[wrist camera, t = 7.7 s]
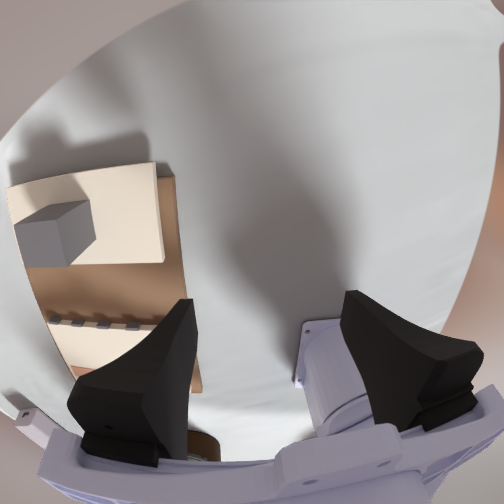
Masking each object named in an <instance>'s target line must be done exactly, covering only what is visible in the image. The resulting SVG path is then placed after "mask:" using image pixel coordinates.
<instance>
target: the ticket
mask: <svg viewBox="0 0 504 504" xmlns="http://www.w3.org/2000/svg"><path fill="white" fill-rule="evenodd" d="M159 323H160V322H159ZM47 325H48V327H49V329H50V331H51V334H52V336H53V338H54V340H55V342H56V344H57V346H58V348H59V350H60V352H61V354H62V356H63V358H64V360H65V362H66V363H67V365H68V367H69V369H70V371H71V372H72V374H73V376H74V378H75V379H76V381H77V379H78V377H79V376H81V375H84V374H86V373H89V372H91V371H93V370H96V369H98V368H100V367H102V366H104V365H106V364H108V363H110V362H112V361H113V360H115V359H117V358H118V357H120V356H121V355H123V354H124V353H126V352H127V351H129V350H130V349H132V348H133V347H134V346H136V345H137V344H138V343H139V342H140V341H142V340H143V339H144V338H145V337H146V336H147V335H148V334H149V333H150V332H151V331H152V330H153V329H154V328H155V327H156V326H157V325H141V323H140V322H127V324H115V323H111V321H106V320H99V322H85V321H84V319H77V318H74V319H73V321H72V320H61V317H54V316H52V317H51V318H50V319H49V321H48V322H47ZM191 389H192V387H191V385H190V391H189V393H191Z"/></svg>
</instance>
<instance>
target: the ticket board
mask: <svg viewBox="0 0 504 504" xmlns="http://www.w3.org/2000/svg"><path fill="white" fill-rule="evenodd" d="M157 190H158V201H159V211H160V220H161V229H162V237H163V245H164V252H165V259H164V261H163V263H123V264H71V265H69V267H55V268H25V269H26V272H27V275H28V278H29V281H30V284H31V287H32V290H33V292H34V295H35V298H36V300H37V303H38V306H39V308H40V310H41V313H42V315H43V318H44V320H45V322H46V325H47V322H48V321H49V319H50V318H51V317H52V316H54V317H61V320H72V321H73V319H74V318H77V319H84V321H85V322H99V320H106V321H111V323H115V324H127V322H140V323H141V325H158V324H159V322H161V321H162V319H163V318H164V317H165V316H166V315H167V314H168V312H169V311H170V310H171V309H172V308H173V306H174V305H175V304H176V303H177V301H178V300H179V299H187V293H186V285H185V278H184V270H183V262H182V253H181V244H180V235H179V224H178V213H177V201H176V188H175V176H164V177H157ZM47 327H48V325H47ZM48 329H49V327H48ZM49 331H50V329H49ZM50 333H51V331H50ZM51 335H52V334H51ZM52 338H53V336H52ZM53 340H54V338H53ZM54 342H55V340H54ZM55 344H56V342H55ZM56 346H57V344H56ZM57 348H58V346H57ZM58 350H59V348H58ZM59 352H60V350H59ZM60 354H61V352H60ZM61 356H62V354H61ZM62 358H63V356H62ZM63 359H64V358H63ZM64 361H65V360H64ZM65 363H66V362H65ZM66 365H67V363H66ZM67 367H68V365H67ZM68 369H69V367H68ZM69 370H70V369H69ZM70 372H71V371H70ZM71 374H72V372H71ZM72 376H73V374H72ZM73 377H74V376H73ZM74 379H75V378H74ZM75 381H76V379H75ZM191 387H192V389H191V393H202V388H203V386H202V381H201V376H200V371H199V365H198V360H197V355H196V359H195V364H194V369H193V374H192V380H191Z"/></svg>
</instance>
